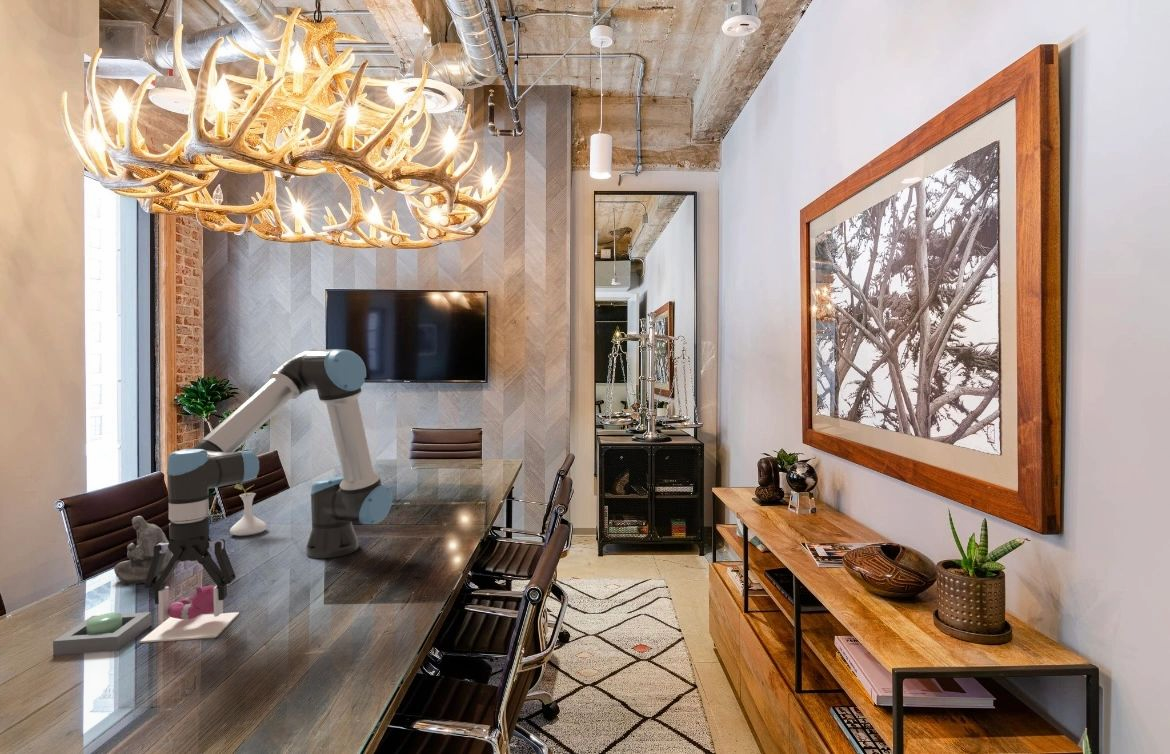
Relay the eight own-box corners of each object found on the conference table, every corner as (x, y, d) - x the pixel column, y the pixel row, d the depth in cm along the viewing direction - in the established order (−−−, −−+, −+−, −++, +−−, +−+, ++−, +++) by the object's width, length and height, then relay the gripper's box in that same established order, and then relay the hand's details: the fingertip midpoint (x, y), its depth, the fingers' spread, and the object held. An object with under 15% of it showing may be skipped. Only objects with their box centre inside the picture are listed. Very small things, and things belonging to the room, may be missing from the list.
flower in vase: (273, 531, 207) (272, 461, 206) (240, 540, 197) (238, 466, 196) (253, 526, 214) (252, 458, 213) (220, 534, 204) (218, 463, 203)
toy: (235, 601, 142) (225, 576, 136) (214, 636, 135) (202, 611, 129) (190, 595, 142) (177, 570, 136) (165, 629, 135) (151, 604, 129)
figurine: (107, 581, 161) (104, 516, 161) (152, 567, 172) (150, 506, 172) (138, 588, 156) (136, 521, 156) (182, 573, 167) (180, 510, 167)
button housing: (151, 624, 134) (150, 612, 134) (118, 650, 123) (117, 636, 122) (92, 629, 133) (92, 615, 132) (53, 655, 121) (52, 641, 121)
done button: (128, 624, 131) (128, 611, 131) (111, 637, 125) (110, 623, 125) (98, 626, 130) (98, 613, 130) (79, 639, 124) (79, 625, 124)
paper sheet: (239, 613, 140) (239, 612, 140) (215, 637, 128) (215, 635, 128) (170, 618, 138) (170, 616, 138) (139, 642, 126) (139, 641, 126)
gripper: (251, 512, 138) (253, 605, 138) (142, 516, 134) (145, 612, 135) (237, 521, 130) (239, 619, 131) (122, 526, 127) (125, 626, 127)
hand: (191, 615), depth 133 cm, fingers closed on toy, 10 cm apart
